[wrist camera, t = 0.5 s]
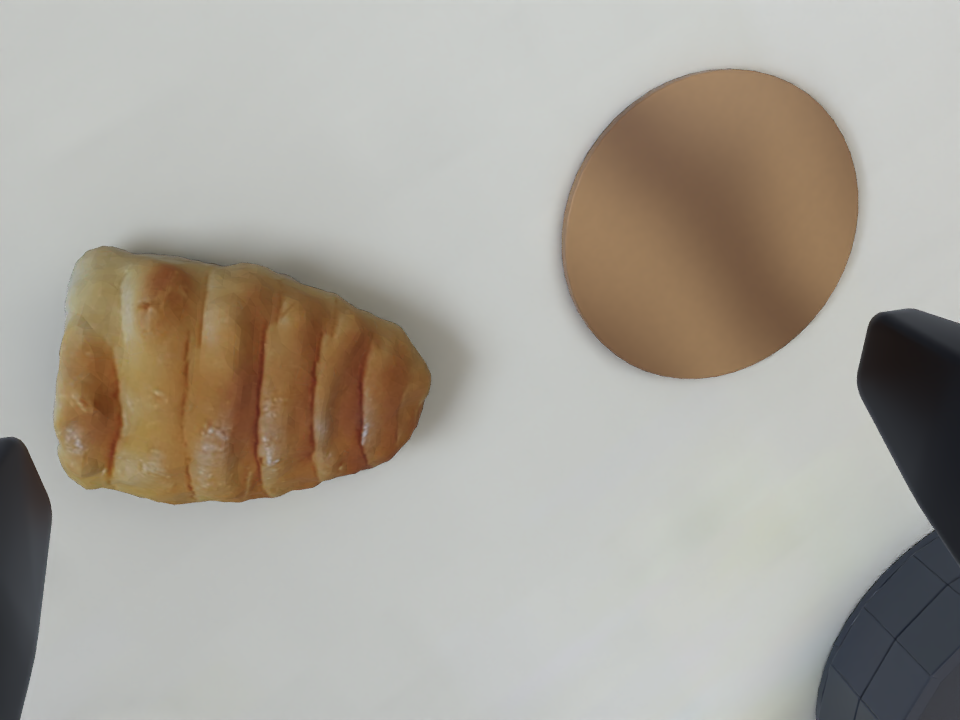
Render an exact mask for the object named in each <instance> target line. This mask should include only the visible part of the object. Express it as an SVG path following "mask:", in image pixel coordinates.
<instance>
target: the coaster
mask: <svg viewBox="0 0 960 720" xmlns="http://www.w3.org/2000/svg"><path fill="white" fill-rule="evenodd" d="M857 217H858V187H857V179H856V172H855V168H854V164H853V161H852V157H851V153H850V151H849V149H848V146H847V144H846V142H845V139H844V137H843V135H842V133H841V132H840V130H839V129H838V127H837V125H836V124H835V122H834V120H833V119H832V118H831V117H830V115H829V114H828V113H827V112H826V111H825V109H824V108H823V107H822V106H821V105H820V104H819V103H818V102H817V101H815V100H814V99H813V98H812V97H811V96H810V95H809V94H807V93H806V92H804V91H803V90H801V89H800V88H798V87H796V86H795V85H793V84H792V83H789V82H787V81H785V80H782V79H780V78H778V77H775V76H772V75H768V74H764V73H760V72H756V71H749V70H738V69H718V70H707V71H702V72H697V73H692V74H688V75H685V76H683V77H680V78H677V79H674V80H671V81H669V82H667V83H665V84H663V85H661V86H659V87H657V88H655V89H653V90H651V91H649V92H648V93H646V94H645V95H644V96H642V97H641V98H639V99H638V100H636V101H635V102H633V103H632V104H631V105H630V106H628V107H627V108H626V109H625V110H624V111H623V112H622V113H621V114H619V115H618V116H617V117H616V118H615V119H614V120H613V121H612V122H611V124H610V125H609V126H608V127H607V128H606V129H605V130H604V131H603V133H602V134H601V135H600V136H599V138H598V139H597V141H596V142H595V143H594V145H593V146H592V148H591V149H590V151H589V152H588V154H587V156H586V157H585V159H584V161H583V163H582V165H581V167H580V169H579V171H578V173H577V175H576V178H575V180H574V183H573V186H572V188H571V191H570V193H569V197H568V201H567V205H566V209H565V214H564V221H563V229H562V259H563V266H564V274H565V278H566V281H567V285H568V289H569V292H570V295H571V297H572V299H573V302H574V304H575V306H576V308H577V311H578V312H579V314H580V316H581V317H582V319H583V320H584V322H585V324H586V325H587V327H588V328H589V329H590V330H591V331H592V332H593V334H594V335H595V336H596V337H597V338H598V340H599V341H600V342H601V343H602V344H604V345H605V346H606V347H607V348H608V349H609V350H610V351H612V352H613V353H614V354H615V355H616V356H618V357H620V358H621V359H623V360H624V361H626V362H627V363H629V364H631V365H633V366H635V367H637V368H640V369H642V370H644V371H646V372H650V373H653V374H657V375H660V376H665V377H672V378H679V379H700V378H709V377H717V376H721V375H725V374H729V373H733V372H736V371H738V370H741V369H744V368H746V367H749V366H751V365H753V364H755V363H757V362H759V361H761V360H763V359H765V358H767V357H769V356H770V355H772V354H773V353H775V352H776V351H778V350H779V349H781V348H782V347H784V346H785V345H786V344H788V343H789V342H790V341H791V340H792V339H794V338H795V337H796V336H797V335H798V334H799V333H800V332H801V331H802V330H803V329H804V328H805V327H806V326H807V325H808V324H809V323H810V322H811V321H812V320H813V319H814V318H815V316H816V315H817V314H818V312H819V311H820V310H821V309H822V307H823V306H824V305H825V303H826V302H827V300H828V299H829V297H830V295H831V294H832V292H833V291H834V289H835V287H836V286H837V284H838V281H839V279H840V277H841V275H842V273H843V271H844V269H845V266H846V264H847V261H848V258H849V255H850V252H851V249H852V245H853V241H854V237H855V232H856V226H857Z"/></svg>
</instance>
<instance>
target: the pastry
mask: <svg viewBox="0 0 960 720" xmlns="http://www.w3.org/2000/svg"><path fill="white" fill-rule="evenodd" d="M65 313H66V321H65V330H64V336H63V339H62V343H61V348H60V352H59V356H60V361H59V372H58V375H57V381H56V398H55V403H54V411H53V421H54V429H55V432H56V435H57V438H58V440H59V445H58V448H57V450H58V456H59V459H60V462H61V465H62V467H63V469H64V470H65V472H66V473H67V475H68V476H69V477H70V478H71V479H73V480H74V481H75V482H76V483H77V484H79V485H81V486H82V487H84V488H85V489H97V488H108V489H114V490H118V491H121V492H125V493H129V494H132V495H135V496H138V497H142V498H148V499H151V500H154V501H157V502H164V503H169V504H173V505H175V504H185V503H192V502H203V501H209V500H212V501H221V502H243V501H246V500H249V499H256V498H263V497H266V498H274V497H278V496H281V495H283V494H285V493H287V492H289V491H292V490H302V489H308V488H313V487H315V486H317V485H318V484H319V483H321V482H322V481H325V480H330V479H333V478H335V477H339V476H344V475H349V474H355V473H357V472H359V471H360V470H365V469H370V468H373V467H375V466H377V465H379V464H381V463H384V462H387V461H389V460H390V459H391V458H392V457H393V456H394V455H395V454H396V453H397V452H398V451H399V450H400V448H401V447H402V446H403V445H404V444H405V443H406V442H407V441H408V440H409V439H410V437H411V435H412V433H413V430H414V429H415V428H416V427H417V424H418V421H419V418H420V415H421V412H422V410H423V405H424V400H425V398H426V397H427V395H428V393H429V390H430V385H431V374H430V371H429V369H428V367H427V365H426V363H425V361H424V360H423V358H422V357H421V356H420V354H419V353H418V351H417V350H416V349H415V347H414V346H413V344H412V343H411V341H410V340H409V338H408V336H407V335H406V334H405V332H404V331H403V329H402V328H401V327H400V326H398V325H397V324H395V323H392V322H390V321H387V320H384V319H381V318H378V317H376V316H374V315H373V314H371V313H369V312H367V311H364V310H359V309H357V308H355V307H354V306H352V305H351V304H349V303H348V302H347V301H345V300H344V299H343V298H341V297H340V296H339V295H337V294H335V293H332V292H326V291H323V290H321V289H317V288H314V287H310V286H307V285H303V284H301V283H299V282H298V281H296V280H295V279H293V278H292V277H290V276H288V275H286V274H278V273H276V272H274V271H272V270H270V269H269V268H267V267H264V266H260V265H257V264H251V263H239V264H235V265H230V266H220V265H217V264H213V263H204V262H201V261H198V260H190V259H187V258H183V257H180V256H168V255H157V254H133V253H130V252H128V251H125V250H122V249H119V248H115V247H108V246H101V247H98V248H95V249H92V250H89V251H87V252H86V253H85V254H84V255H83V256H82V257H81V258H80V259H79V260H78V261H77V263H76V264H75V266H74V269H73V273H72V275H71V278H70V281H69V284H68V290H67V297H66V301H65Z"/></svg>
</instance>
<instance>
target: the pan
mask: <svg viewBox="0 0 960 720" xmlns="http://www.w3.org/2000/svg"><path fill="white" fill-rule="evenodd" d="M816 720H960V566H959V565H958V563H957V562H956V560H955V559H954V557H953V556H952V554H951V553H950V551H949V550H948V548H947V547H946V545H945V544H944V542H943V541H942V540H941V538H940V537H939V535H938V534H937V532H936V531H934V532H932V533H931V534H929V535H928V536H926V537H925V538H924V539H922V540H921V541H920V542H919V543H917V544H916V545H915V546H914V547H912V548H911V549H910V550H909V551H907V552H906V553H905V554H904V555H902V556H901V557H900V558H899V559H898V560H897V561H896V562H895V563H894V564H893V565H892V566H891V567H890V568H889V569H888V570H887V571H886V572H885V573H884V574H883V575H882V576H881V577H880V578H879V579H878V580H877V582H876V583H875V584H874V585H873V586H872V587H871V589H870V590H869V591H868V592H867V593H866V594H865V596H864V597H863V598H862V600H861V601H860V602H859V604H858V605H857V607H856V608H855V610H854V611H853V612H852V614H851V615H850V617H849V618H848V620H847V621H846V623H845V625H844V627H843V629H842V630H841V632H840V634H839V636H838V638H837V639H836V641H835V643H834V645H833V648H832V650H831V653H830V655H829V657H828V660H827V662H826V665H825V667H824V671H823V675H822V678H821V682H820V686H819V690H818V697H817V705H816Z"/></svg>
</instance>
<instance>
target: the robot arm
mask: <svg viewBox="0 0 960 720" xmlns="http://www.w3.org/2000/svg"><path fill="white" fill-rule="evenodd" d="M857 386H858V390H859V394H860V396H861V399H862V400H863V402H864V404H865V406H866V408H867V410H868V412H869V414H870V415H871V417H872V419H873V421H874V423H875V425H876V427H877V429H878V431H879V432H880V434H881V436H882V438H883V440H884V442H885V444H886V446H887V448H888V449H889V451H890V453H891V455H892V457H893V459H894V461H895V463H896V465H897V466H898V468H899V470H900V472H901V474H902V476H903V478H904V480H905V481H906V483H907V485H908V487H909V489H910V491H911V492H912V494H913V496H914V498H915V499H916V501H917V503H918V505H919V506H920V508H921V509H922V511H923V512H924V514H925V516H926V517H927V519H928V520H929V522H930V523H931V525H932V526H933V528H934V529H935V531H936V532H937V534H938V535H939V537H940V538H941V540H942V541H943V542H944V544H945V545H946V547H947V548H948V550H949V551H950V553H951V554H952V556H953V557H954V559H955V560H956V562H957V563H958V565H959V566H960V324H959V323H956V322H953V321H950V320H947V319H944V318H941V317H938V316H935V315H932V314H929V313H926V312H923V311H920V310H917V309H901V310H894V311H887V312H881V313H878V314H877V315H875V316H874V317H873V318H872V319H871V321H870V323H869V326H868V329H867V333H866V338H865V342H864V346H863V351H862V355H861V359H860V364H859V368H858V372H857ZM51 524H52V510H51V504H50V500H49V497H48V494H47V492H46V490H45V488H44V486H43V483H42V481H41V479H40V477H39V474H38V472H37V470H36V468H35V465H34V463H33V461H32V459H31V456H30V454H29V452H28V450H27V448H26V446H25V445H24V444H23V442H22V441H21V440H19V439H17V438H15V437H6V438H0V720H20V717H21V713H22V709H23V705H24V701H25V697H26V693H27V689H28V685H29V681H30V677H31V672H32V667H33V663H34V658H35V653H36V646H37V639H38V633H39V624H40V616H41V608H42V599H43V591H44V582H45V574H46V566H47V557H48V549H49V540H50V532H51Z"/></svg>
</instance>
